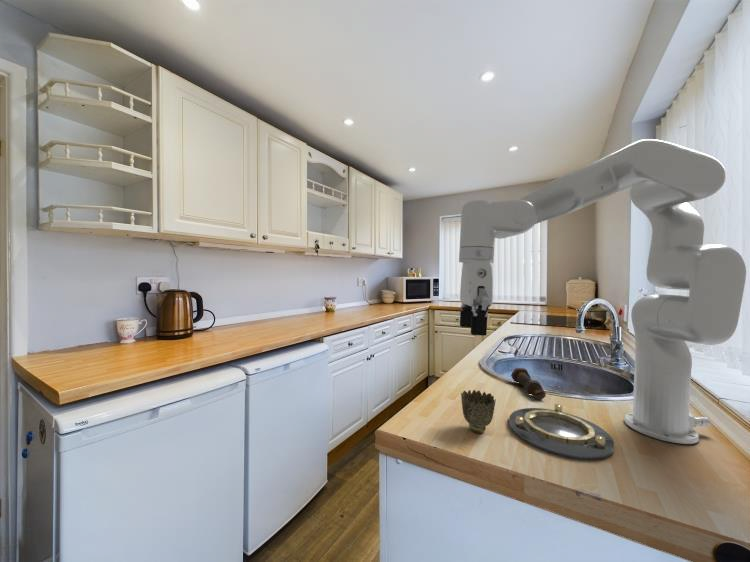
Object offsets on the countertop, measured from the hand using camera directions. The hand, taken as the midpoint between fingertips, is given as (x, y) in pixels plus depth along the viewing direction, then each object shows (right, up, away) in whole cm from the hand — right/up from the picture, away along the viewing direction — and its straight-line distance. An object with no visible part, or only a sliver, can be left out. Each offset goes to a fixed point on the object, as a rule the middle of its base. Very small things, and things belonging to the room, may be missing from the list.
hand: (472, 330), depth 69 cm
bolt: (+25, -23, +24) cm, 42 cm away
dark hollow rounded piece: (+1, -23, 0) cm, 23 cm away
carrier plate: (+19, -23, -1) cm, 30 cm away
